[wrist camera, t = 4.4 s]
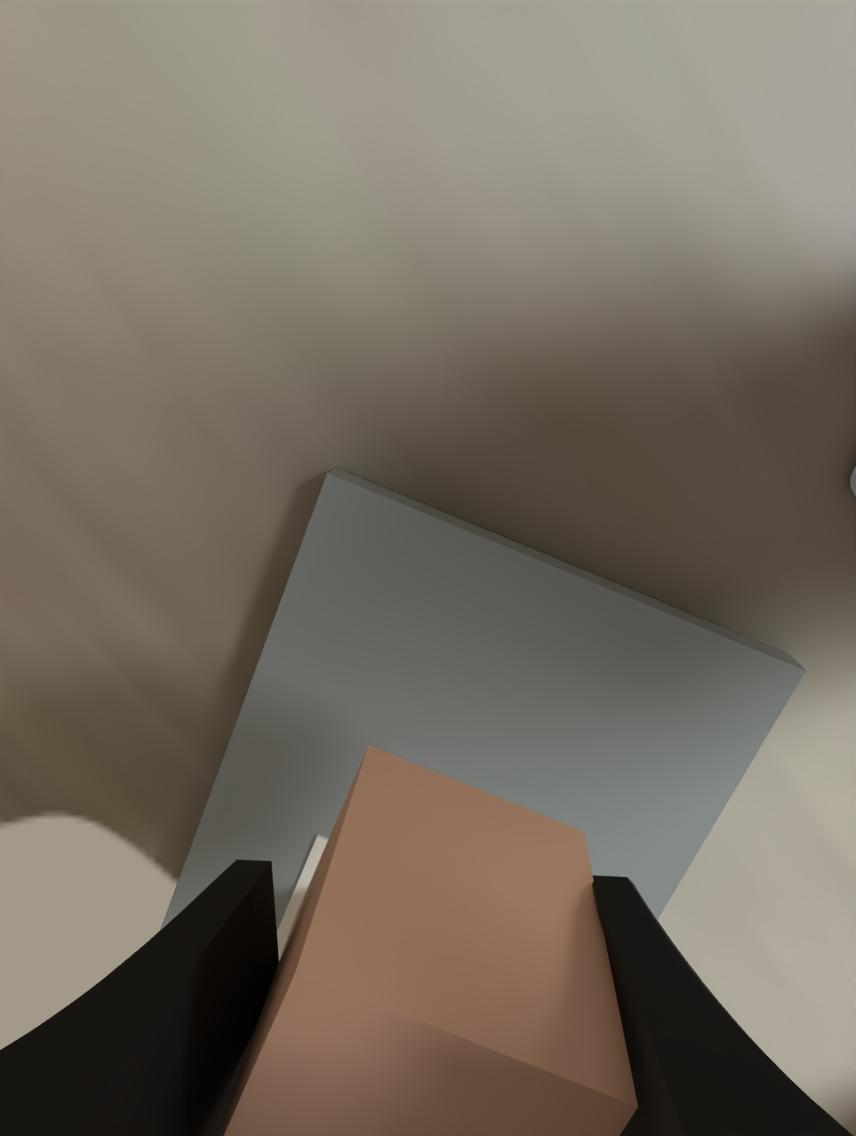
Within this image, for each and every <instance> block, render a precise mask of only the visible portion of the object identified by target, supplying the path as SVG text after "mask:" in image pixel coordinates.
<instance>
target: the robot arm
mask: <svg viewBox="0 0 856 1136" xmlns="http://www.w3.org/2000/svg"><path fill="white" fill-rule="evenodd" d="M850 486H851V490H852V491H853V493H854V495H855V496H856V467H855V469H854V470H853V473H852V476H851V478H850ZM593 880H594V882H593V883H592V886H593V891H594V896H595V901H596V907H597V912H598V916H599V919H600V923H601V926H602V929H603V932H604V936H605V941H606V946H607V951H608V957H609V962H610V967H611V972H612V977H613V982H614V987H615V992H616V997H617V1002H618V1007H619V1012H620V1018H621V1023H622V1028H623V1033H624V1038H625V1043H626V1048H627V1053H628V1058H629V1063H630V1068H631V1073H632V1079H633V1084H634V1089H635V1094H636V1099H637V1104H638V1108H637V1109H636V1111H635V1112H634V1114H633V1116H632V1117H631V1119H630V1120H629V1122H628V1123H627V1125H626V1126H625V1128H624V1129H623V1131H622V1133H621V1134H620V1136H853V1135H852V1134H851V1133H850V1132H848V1131H847V1130H846V1129H845V1128H844V1127H843V1126H842V1125H840V1124H839V1123H838V1122H837V1121H836V1120H835V1119H834V1118H832V1117H831V1116H830V1115H829V1114H828V1113H827V1112H826V1111H824V1110H823V1109H822V1108H821V1107H820V1106H819V1105H818V1104H816V1103H815V1102H814V1101H813V1100H812V1099H811V1098H810V1097H809V1096H807V1095H806V1094H805V1093H804V1092H803V1091H802V1090H801V1089H800V1088H799V1087H798V1086H797V1085H796V1084H795V1083H794V1082H793V1081H792V1080H791V1079H790V1078H789V1077H788V1076H787V1075H786V1074H785V1073H784V1072H783V1071H782V1070H781V1069H780V1068H779V1067H778V1066H777V1065H776V1064H775V1063H774V1062H773V1061H772V1060H771V1059H770V1058H769V1057H768V1056H767V1055H766V1054H765V1053H764V1052H763V1051H762V1050H761V1049H760V1048H759V1047H758V1046H757V1045H756V1043H755V1042H754V1041H753V1040H752V1039H751V1038H750V1037H749V1036H748V1035H747V1034H746V1032H745V1031H744V1030H743V1029H742V1028H741V1027H740V1026H739V1025H738V1024H737V1022H736V1021H735V1020H734V1019H733V1018H732V1017H731V1015H730V1014H729V1013H728V1012H727V1011H726V1010H725V1008H724V1007H723V1006H722V1005H721V1004H720V1003H719V1001H718V1000H717V999H716V998H715V997H714V995H713V994H712V993H711V992H710V990H709V989H708V988H707V987H706V985H705V984H704V983H703V982H702V980H701V979H700V978H699V976H698V975H697V974H696V973H695V971H694V970H693V969H692V967H691V966H690V965H689V963H688V962H687V961H686V960H685V958H684V957H683V956H682V954H681V953H680V952H679V950H678V949H677V948H676V946H675V945H674V943H673V942H672V941H671V939H670V938H669V937H668V935H667V934H666V932H665V931H664V929H663V928H662V926H661V925H660V924H659V922H658V921H657V919H656V918H655V916H654V915H653V913H652V912H651V910H650V909H649V907H648V906H647V904H646V903H645V901H644V900H643V898H642V896H641V895H640V893H639V892H638V890H637V888H636V887H635V885H634V884H633V883H632V881H631V880H630V879H629V878H628V877H619V876H597V875H593ZM278 964H279V954H278V941H277V927H276V913H275V900H274V886H273V872H272V861H260V860H238V859H237V860H236V861H235V862H233V863H232V864H231V865H230V866H229V867H228V868H227V869H226V870H225V871H224V872H222V873H221V874H220V875H219V876H218V877H217V878H216V879H215V880H214V881H213V882H212V883H211V884H210V885H209V886H208V887H207V888H205V889H204V890H203V891H202V892H201V893H200V894H199V895H198V896H197V897H196V898H195V899H194V900H193V901H192V902H191V903H190V904H189V905H188V906H186V907H185V908H184V909H183V910H182V911H181V912H180V913H179V914H178V915H177V916H176V917H175V918H173V919H172V920H171V921H170V922H169V923H168V924H167V925H166V926H165V927H164V928H162V929H161V930H160V931H159V932H158V933H157V934H156V935H155V936H154V937H153V938H151V939H150V940H149V941H148V942H147V943H146V944H145V945H144V946H142V947H141V948H140V949H139V950H138V951H136V952H135V953H134V954H133V955H132V956H131V957H130V958H128V959H127V960H125V961H124V962H123V963H122V964H121V965H119V966H118V967H117V968H116V969H115V970H113V971H112V972H111V973H110V974H109V975H108V976H106V977H105V978H104V979H103V980H101V981H100V982H99V983H98V984H96V985H95V986H94V987H92V988H91V989H90V990H89V991H87V992H86V993H84V994H83V995H82V996H80V997H79V998H78V999H76V1000H75V1001H74V1002H72V1003H71V1004H69V1005H68V1006H66V1007H65V1008H64V1009H62V1010H61V1011H59V1012H58V1013H57V1014H55V1015H54V1016H52V1017H51V1018H50V1019H48V1020H47V1021H45V1022H44V1023H42V1024H41V1025H39V1026H38V1027H36V1028H35V1029H33V1030H32V1031H30V1032H29V1033H27V1034H26V1035H24V1036H22V1037H21V1038H19V1039H17V1040H16V1041H14V1042H13V1043H11V1044H10V1045H8V1046H6V1047H5V1048H3V1049H2V1050H0V1136H217V1135H218V1132H219V1130H220V1127H221V1124H222V1121H223V1118H224V1115H225V1113H226V1110H227V1107H228V1104H229V1101H230V1099H231V1096H232V1093H233V1090H234V1087H235V1084H236V1082H237V1079H238V1076H239V1073H240V1070H241V1068H242V1065H243V1062H244V1059H245V1056H246V1053H247V1051H248V1048H249V1045H250V1042H251V1039H252V1037H253V1034H254V1031H255V1028H256V1026H257V1023H258V1020H259V1017H260V1015H261V1012H262V1009H263V1006H264V1003H265V1001H266V998H267V995H268V992H269V989H270V987H271V984H272V981H273V978H274V975H275V972H276V970H277V967H278Z"/></svg>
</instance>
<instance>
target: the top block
mask: <svg viewBox="0 0 856 1136" xmlns="http://www.w3.org/2000/svg"><path fill="white" fill-rule="evenodd" d="M593 882H594V880H593V875H592V870H591V865H590V860H589V855H588V850H587V845H586V840H585V835H584V832H583V831H581V830H578V829H576V828H573V827H571V826H568V825H566V824H563V823H561V822H559V821H556V820H554V819H551V818H549V817H546V816H544V815H541V814H539V813H536V812H534V811H531V810H529V809H526V808H524V807H521V806H519V805H516V804H514V803H511V802H509V801H507V800H504V799H502V798H499V797H497V796H494V795H492V794H489V793H487V792H484V791H482V790H479V789H477V788H474V787H472V786H469V785H467V784H464V783H462V782H459V781H457V780H454V779H452V778H450V777H447V776H445V775H442V774H440V773H437V772H435V771H432V770H430V769H427V768H425V767H422V766H420V765H417V764H415V763H412V762H410V761H407V760H405V759H402V758H400V757H397V756H395V755H393V754H390V753H388V752H385V751H383V750H380V749H378V748H375V747H373V746H370V745H368V747H367V750H366V752H365V755H364V757H363V759H362V762H361V764H360V766H359V769H358V771H357V773H356V776H355V778H354V780H353V783H352V785H351V787H350V790H349V792H348V794H347V797H346V799H345V801H344V804H343V806H342V809H341V811H340V813H339V816H338V818H337V820H336V823H335V825H334V827H333V830H332V832H331V834H330V837H329V839H328V841H327V844H326V846H325V848H324V851H323V853H322V855H321V858H320V860H319V863H318V865H317V867H316V870H315V872H314V874H313V877H312V879H311V881H310V884H309V886H308V888H307V891H306V893H305V895H304V898H303V900H302V902H301V905H300V907H299V909H298V912H297V914H296V917H295V919H294V921H293V924H292V927H291V929H290V932H289V935H288V938H287V941H286V943H285V946H284V949H283V952H282V955H281V958H280V960H279V964H278V967H277V970H276V972H275V975H274V978H273V981H272V984H271V987H270V989H269V992H268V995H267V998H266V1001H265V1003H264V1006H263V1009H262V1012H261V1015H260V1017H259V1020H258V1023H257V1026H256V1028H255V1031H254V1034H253V1037H252V1039H251V1042H250V1045H249V1048H248V1051H247V1053H246V1056H245V1059H244V1062H243V1065H242V1068H241V1070H240V1073H239V1076H238V1079H237V1082H236V1084H235V1087H234V1090H233V1093H232V1096H231V1099H230V1101H229V1104H228V1107H227V1110H226V1113H225V1115H224V1118H223V1121H222V1124H221V1127H220V1130H219V1132H218V1135H217V1136H620V1134H621V1133H622V1131H623V1129H624V1128H625V1126H626V1125H627V1123H628V1122H629V1120H630V1119H631V1117H632V1116H633V1114H634V1112H635V1111H636V1109H637V1108H638V1104H637V1099H636V1094H635V1089H634V1084H633V1079H632V1073H631V1068H630V1063H629V1058H628V1053H627V1048H626V1043H625V1038H624V1033H623V1028H622V1023H621V1018H620V1012H619V1007H618V1002H617V997H616V992H615V987H614V982H613V977H612V972H611V967H610V962H609V957H608V951H607V946H606V941H605V936H604V932H603V929H602V926H601V923H600V919H599V916H598V912H597V907H596V901H595V896H594V891H593V886H592V883H593Z"/></svg>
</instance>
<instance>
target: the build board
mask: <svg viewBox="0 0 856 1136" xmlns="http://www.w3.org/2000/svg"><path fill="white" fill-rule="evenodd" d="M805 671H806V670H805V669H804V668H803V667H802V666H801V665H800V664H799V663H797V662H796V661H795V660H794V659H793V658H792V657H791V656H790V655H789V654H787V653H784V652H782V651H779V650H777V649H775V648H772V647H770V646H767V645H765V644H762V643H760V642H758V641H755V640H753V639H750V638H748V637H745V636H743V635H741V634H738V633H736V632H733V631H731V630H728V629H726V628H724V627H721V626H719V625H716V624H714V623H712V622H709V621H707V620H704V619H702V618H699V617H697V616H695V615H692V614H690V613H687V612H685V611H682V610H680V609H678V608H675V607H673V606H670V605H668V604H665V603H663V602H661V601H658V600H656V599H653V598H651V597H648V596H646V595H644V594H641V593H639V592H636V591H634V590H632V589H629V588H627V587H624V586H622V585H619V584H617V583H615V582H612V581H610V580H607V579H605V578H602V577H600V576H598V575H595V574H593V573H590V572H588V571H585V570H583V569H581V568H578V567H576V566H573V565H571V564H568V563H566V562H564V561H561V560H559V559H556V558H554V557H552V556H549V555H547V554H544V553H542V552H539V551H537V550H535V549H532V548H530V547H527V546H525V545H522V544H520V543H518V542H515V541H513V540H510V539H508V538H505V537H503V536H501V535H498V534H496V533H493V532H491V531H488V530H486V529H484V528H481V527H479V526H476V525H474V524H471V523H469V522H467V521H464V520H462V519H459V518H457V517H455V516H452V515H450V514H447V513H445V512H442V511H440V510H438V509H435V508H433V507H430V506H428V505H425V504H423V503H421V502H418V501H416V500H413V499H411V498H408V497H406V496H404V495H401V494H399V493H396V492H394V491H391V490H389V489H387V488H384V487H382V486H379V485H377V484H375V483H372V482H370V481H367V480H365V479H362V478H360V477H358V476H355V475H353V474H350V473H348V472H345V471H343V470H341V469H338V468H336V467H335V468H334V469H333V470H331V471H330V472H328V473H327V475H326V477H325V480H324V483H323V486H322V488H321V491H320V494H319V497H318V499H317V502H316V505H315V508H314V510H313V513H312V516H311V519H310V521H309V524H308V527H307V530H306V532H305V535H304V538H303V540H302V543H301V546H300V549H299V551H298V554H297V557H296V560H295V562H294V565H293V568H292V571H291V573H290V576H289V579H288V582H287V584H286V587H285V590H284V593H283V595H282V598H281V601H280V604H279V606H278V609H277V612H276V614H275V617H274V620H273V623H272V625H271V628H270V631H269V634H268V636H267V639H266V642H265V645H264V647H263V650H262V653H261V656H260V658H259V661H258V664H257V667H256V669H255V672H254V675H253V678H252V680H251V683H250V686H249V689H248V691H247V694H246V697H245V699H244V702H243V705H242V708H241V710H240V713H239V716H238V719H237V721H236V724H235V727H234V730H233V732H232V735H231V738H230V741H229V743H228V746H227V749H226V752H225V754H224V757H223V760H222V763H221V765H220V768H219V771H218V773H217V776H216V779H215V782H214V784H213V787H212V790H211V793H210V795H209V798H208V801H207V804H206V806H205V809H204V812H203V815H202V817H201V820H200V823H199V826H198V828H197V831H196V834H195V837H194V839H193V842H192V845H191V847H190V850H189V853H188V856H187V858H186V861H185V864H184V867H183V869H182V872H181V875H180V878H179V880H178V883H177V886H176V889H175V891H174V894H173V897H172V900H171V902H170V905H169V908H168V911H167V913H166V916H165V919H164V921H163V924H162V927H161V929H162V928H164V927H165V926H166V925H167V924H168V923H169V922H170V921H171V920H172V919H173V918H175V917H176V916H177V915H178V914H179V913H180V912H181V911H182V910H183V909H184V908H185V907H186V906H188V905H189V904H190V903H191V902H192V901H193V900H194V899H195V898H196V897H197V896H198V895H199V894H200V893H201V892H202V891H203V890H204V889H205V888H207V887H208V886H209V885H210V884H211V883H212V882H213V881H214V880H215V879H216V878H217V877H218V876H219V875H220V874H221V873H222V872H224V871H225V870H226V869H227V868H228V867H229V866H230V865H231V864H232V863H233V862H235V861H236V860H237V859H238V860H260V861H272V872H273V886H274V900H275V913H276V927H277V941H278V954H279V960H280V958H281V955H282V952H283V949H284V946H285V943H286V941H287V938H288V935H289V932H290V929H291V927H292V924H293V921H294V919H295V917H296V914H297V912H298V909H299V907H300V905H301V902H302V900H303V898H304V895H305V893H306V891H307V888H308V886H309V884H310V881H311V879H312V877H313V874H314V872H315V870H316V867H317V865H318V863H319V860H320V858H321V855H322V853H323V851H324V848H325V846H326V844H327V841H328V839H329V837H330V834H331V832H332V830H333V827H334V825H335V823H336V820H337V818H338V816H339V813H340V811H341V809H342V806H343V804H344V801H345V799H346V797H347V794H348V792H349V790H350V787H351V785H352V783H353V780H354V778H355V776H356V773H357V771H358V769H359V766H360V764H361V762H362V759H363V757H364V755H365V752H366V750H367V747H368V745H370V746H373V747H375V748H378V749H380V750H383V751H385V752H388V753H390V754H393V755H395V756H397V757H400V758H402V759H405V760H407V761H410V762H412V763H415V764H417V765H420V766H422V767H425V768H427V769H430V770H432V771H435V772H437V773H440V774H442V775H445V776H447V777H450V778H452V779H454V780H457V781H459V782H462V783H464V784H467V785H469V786H472V787H474V788H477V789H479V790H482V791H484V792H487V793H489V794H492V795H494V796H497V797H499V798H502V799H504V800H507V801H509V802H511V803H514V804H516V805H519V806H521V807H524V808H526V809H529V810H531V811H534V812H536V813H539V814H541V815H544V816H546V817H549V818H551V819H554V820H556V821H559V822H561V823H563V824H566V825H568V826H571V827H573V828H576V829H578V830H581V831H583V832H584V835H585V840H586V845H587V850H588V855H589V860H590V865H591V870H592V875H597V876H619V877H628V878H629V879H630V880H631V881H632V883H633V884H634V885H635V887H636V888H637V890H638V892H639V893H640V895H641V896H642V898H643V900H644V901H645V903H646V904H647V906H648V907H649V909H650V910H651V912H652V913H653V915H654V916H655V918H656V919H657V920H658V918H659V916H660V914H661V913H662V911H663V909H664V908H665V906H666V904H667V903H668V901H669V899H670V898H671V896H672V894H673V893H674V891H675V889H676V888H677V886H678V884H679V883H680V881H681V879H682V878H683V876H684V874H685V872H686V871H687V869H688V867H689V866H690V864H691V862H692V861H693V859H694V857H695V856H696V854H697V852H698V851H699V849H700V847H701V846H702V844H703V842H704V841H705V839H706V837H707V836H708V834H709V832H710V830H711V829H712V827H713V825H714V824H715V822H716V820H717V819H718V817H719V815H720V814H721V812H722V810H723V809H724V807H725V805H726V804H727V802H728V800H729V799H730V797H731V795H732V794H733V792H734V790H735V788H736V787H737V785H738V783H739V782H740V780H741V778H742V777H743V775H744V773H745V772H746V770H747V768H748V767H749V765H750V763H751V762H752V760H753V758H754V757H755V755H756V753H757V752H758V750H759V748H760V746H761V745H762V743H763V741H764V740H765V738H766V736H767V735H768V733H769V731H770V730H771V728H772V726H773V725H774V723H775V721H776V720H777V718H778V716H779V715H780V713H781V711H782V709H783V708H784V706H785V704H786V703H787V701H788V699H789V698H790V696H791V694H792V693H793V691H794V689H795V688H796V686H797V684H798V683H799V681H800V679H801V678H802V676H803V674H804V673H805Z"/></svg>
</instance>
